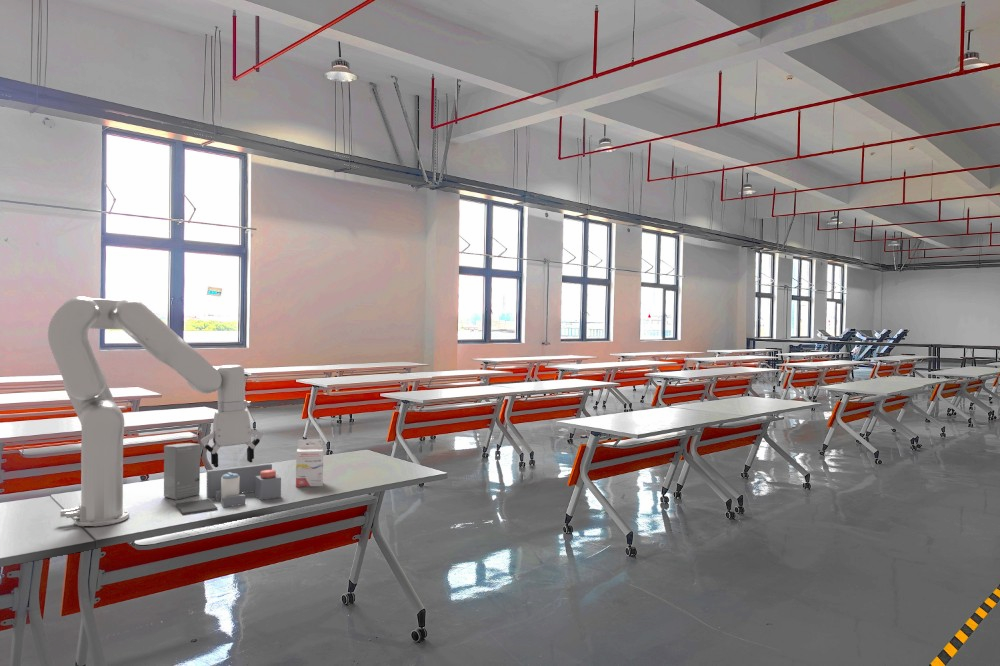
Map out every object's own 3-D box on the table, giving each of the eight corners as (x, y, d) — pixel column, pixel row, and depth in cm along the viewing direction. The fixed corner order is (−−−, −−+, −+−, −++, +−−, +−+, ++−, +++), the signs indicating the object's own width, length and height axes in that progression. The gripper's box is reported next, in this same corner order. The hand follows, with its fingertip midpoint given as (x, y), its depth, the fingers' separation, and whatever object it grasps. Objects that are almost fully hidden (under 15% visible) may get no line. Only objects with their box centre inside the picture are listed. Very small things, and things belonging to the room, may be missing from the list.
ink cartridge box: (295, 487, 210) (296, 442, 210) (296, 483, 215) (296, 439, 215) (323, 486, 212) (323, 441, 212) (323, 482, 217) (323, 438, 217)
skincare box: (175, 500, 193) (176, 447, 193) (161, 497, 197) (162, 445, 196) (201, 494, 200) (202, 443, 200) (187, 491, 204) (188, 440, 204)
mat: (182, 514, 179) (182, 512, 179) (175, 505, 188) (175, 503, 188) (217, 509, 184) (217, 507, 184) (208, 500, 193) (208, 498, 193)
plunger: (262, 493, 196) (262, 473, 196) (258, 490, 199) (258, 471, 199) (277, 491, 198) (277, 472, 198) (273, 488, 202) (273, 469, 202)
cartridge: (223, 505, 189) (223, 476, 189) (219, 501, 193) (219, 472, 193) (241, 502, 192) (241, 474, 192) (236, 498, 196) (237, 470, 196)
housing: (218, 508, 186) (218, 480, 186) (206, 496, 198) (206, 470, 198) (284, 498, 197) (284, 472, 197) (269, 487, 209) (270, 463, 209)
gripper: (258, 402, 200) (259, 457, 201) (197, 408, 190) (198, 466, 191) (265, 405, 194) (266, 462, 195) (202, 411, 184) (204, 470, 184)
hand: (233, 463), depth 193 cm, fingers open, 9 cm apart
